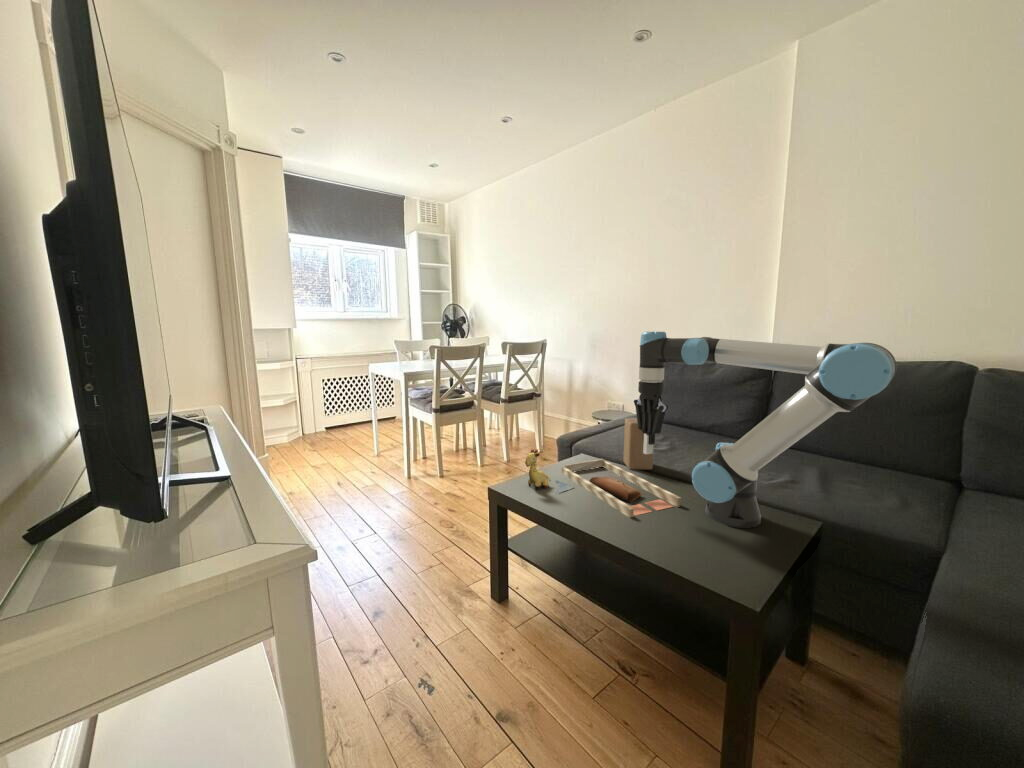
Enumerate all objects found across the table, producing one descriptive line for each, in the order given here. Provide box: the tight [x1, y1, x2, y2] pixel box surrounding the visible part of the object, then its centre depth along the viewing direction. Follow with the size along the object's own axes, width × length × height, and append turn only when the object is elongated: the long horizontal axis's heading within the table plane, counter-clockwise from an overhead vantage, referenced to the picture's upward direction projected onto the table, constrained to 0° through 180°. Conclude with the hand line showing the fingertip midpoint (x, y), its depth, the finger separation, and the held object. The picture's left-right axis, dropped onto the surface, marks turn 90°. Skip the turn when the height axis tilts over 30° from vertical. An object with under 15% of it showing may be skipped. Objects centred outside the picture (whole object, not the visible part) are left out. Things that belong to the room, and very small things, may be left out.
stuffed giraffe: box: [524, 448, 574, 496], centre depth 146 cm, size 16×18×16 cm
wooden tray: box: [561, 458, 682, 519], centre depth 146 cm, size 41×21×4 cm, turn 23°
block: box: [623, 417, 655, 471], centre depth 169 cm, size 10×10×20 cm
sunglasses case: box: [588, 476, 643, 503], centre depth 143 cm, size 18×7×7 cm
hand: (648, 453), depth 130 cm, fingers closed
